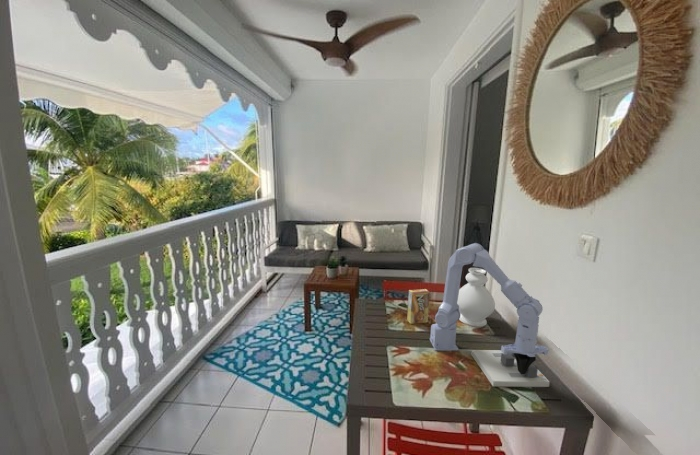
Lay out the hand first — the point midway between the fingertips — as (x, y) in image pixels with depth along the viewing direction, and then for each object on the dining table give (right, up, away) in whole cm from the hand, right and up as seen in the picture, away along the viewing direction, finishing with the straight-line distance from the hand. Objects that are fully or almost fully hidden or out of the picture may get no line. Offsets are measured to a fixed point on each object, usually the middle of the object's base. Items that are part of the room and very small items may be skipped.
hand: (521, 372), depth 96 cm
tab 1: (+3, +1, +11) cm, 12 cm away
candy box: (-26, +4, +39) cm, 47 cm away
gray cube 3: (+3, -1, 0) cm, 3 cm away
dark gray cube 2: (-2, 0, +6) cm, 6 cm away
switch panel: (-2, -2, +6) cm, 6 cm away
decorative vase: (+1, +4, +41) cm, 41 cm away
